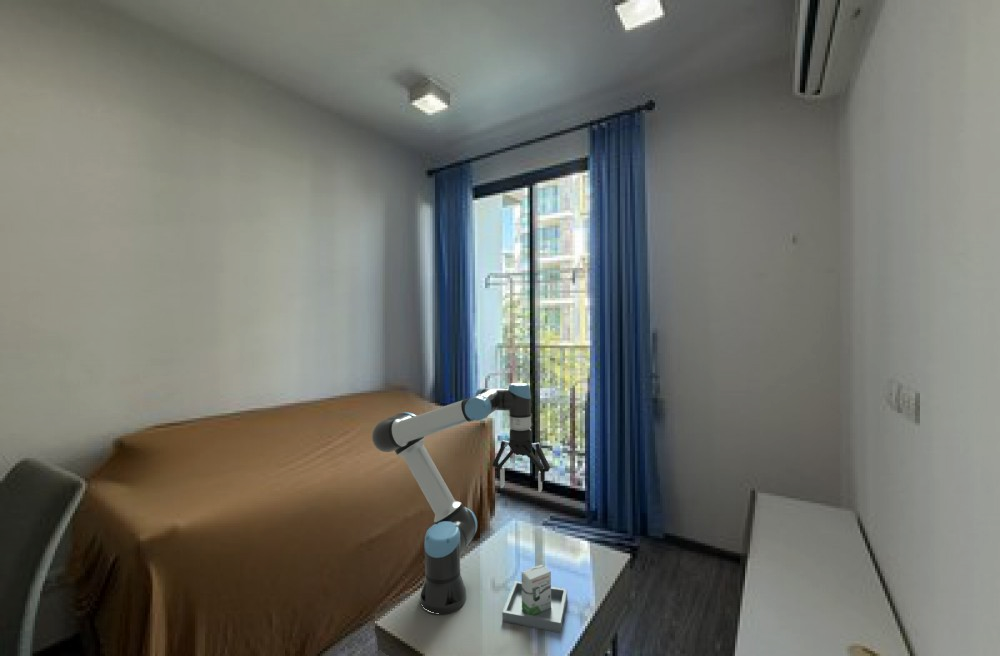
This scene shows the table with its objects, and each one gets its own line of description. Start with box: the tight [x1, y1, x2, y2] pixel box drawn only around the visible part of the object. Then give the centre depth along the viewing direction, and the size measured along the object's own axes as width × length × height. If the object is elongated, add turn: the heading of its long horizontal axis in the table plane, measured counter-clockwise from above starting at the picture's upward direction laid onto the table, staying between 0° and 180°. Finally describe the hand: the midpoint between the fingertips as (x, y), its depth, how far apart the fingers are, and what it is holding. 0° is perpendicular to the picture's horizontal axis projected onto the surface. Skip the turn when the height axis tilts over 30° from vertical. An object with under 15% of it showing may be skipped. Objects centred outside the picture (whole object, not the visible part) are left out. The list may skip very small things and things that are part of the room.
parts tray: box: [501, 580, 568, 634], centre depth 131 cm, size 18×16×3 cm
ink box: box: [521, 564, 552, 615], centre depth 131 cm, size 9×5×12 cm, turn 121°
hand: (521, 488), depth 142 cm, fingers open, 13 cm apart
